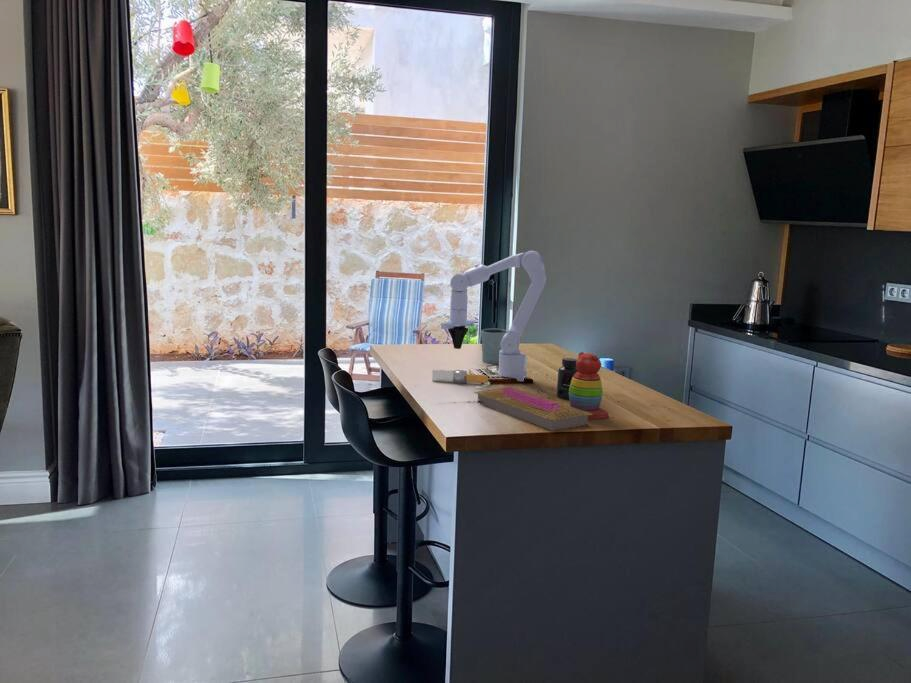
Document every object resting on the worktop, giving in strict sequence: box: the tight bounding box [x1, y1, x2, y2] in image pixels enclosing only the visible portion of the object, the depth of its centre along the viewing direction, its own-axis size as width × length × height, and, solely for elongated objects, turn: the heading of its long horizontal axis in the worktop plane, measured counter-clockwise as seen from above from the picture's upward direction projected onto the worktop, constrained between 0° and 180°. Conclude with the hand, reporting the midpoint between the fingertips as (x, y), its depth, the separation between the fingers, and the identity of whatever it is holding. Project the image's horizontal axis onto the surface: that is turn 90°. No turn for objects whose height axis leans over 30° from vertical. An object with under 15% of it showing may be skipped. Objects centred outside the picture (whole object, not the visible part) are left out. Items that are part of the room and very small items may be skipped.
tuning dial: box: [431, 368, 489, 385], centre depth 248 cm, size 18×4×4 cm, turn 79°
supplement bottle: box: [556, 357, 578, 400], centre depth 237 cm, size 7×7×12 cm
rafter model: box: [473, 385, 593, 431], centre depth 217 cm, size 35×14×6 cm, turn 34°
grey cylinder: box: [480, 328, 509, 365], centre depth 291 cm, size 10×10×12 cm
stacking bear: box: [568, 351, 609, 420], centre depth 216 cm, size 11×10×18 cm
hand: (457, 348), depth 263 cm, fingers closed
